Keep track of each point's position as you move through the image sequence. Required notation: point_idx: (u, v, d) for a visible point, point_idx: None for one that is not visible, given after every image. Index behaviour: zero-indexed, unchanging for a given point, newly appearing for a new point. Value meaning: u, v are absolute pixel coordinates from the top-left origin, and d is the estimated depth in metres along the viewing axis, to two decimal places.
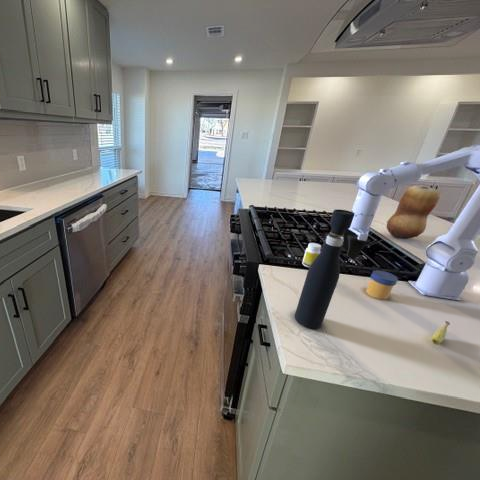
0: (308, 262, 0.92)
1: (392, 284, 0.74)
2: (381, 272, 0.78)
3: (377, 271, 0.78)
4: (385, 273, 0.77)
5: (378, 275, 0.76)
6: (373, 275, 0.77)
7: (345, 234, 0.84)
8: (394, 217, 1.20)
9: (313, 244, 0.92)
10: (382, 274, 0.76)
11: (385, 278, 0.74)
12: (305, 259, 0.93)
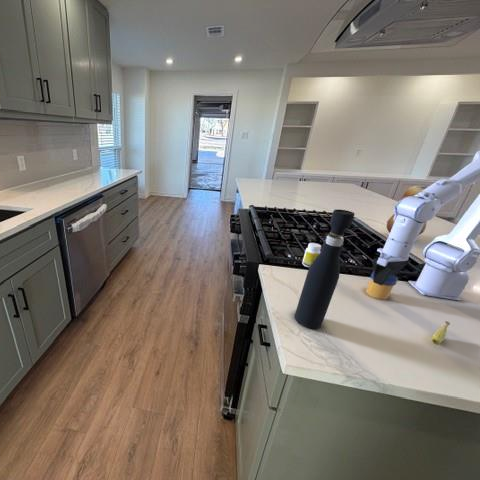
0: (308, 262, 0.92)
1: (392, 284, 0.74)
2: None
3: None
4: None
5: None
6: (373, 275, 0.77)
7: None
8: None
9: (313, 244, 0.92)
10: None
11: None
12: (305, 259, 0.93)
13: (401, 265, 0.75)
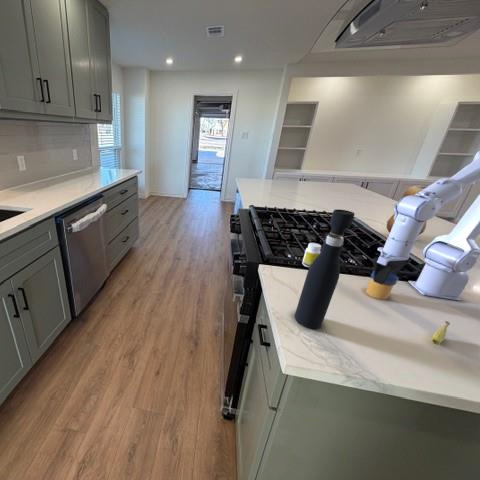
0: (308, 262, 0.92)
1: None
2: None
3: None
4: None
5: (393, 278, 0.74)
6: (393, 281, 0.73)
7: None
8: None
9: (313, 244, 0.92)
10: None
11: (394, 276, 0.75)
12: (305, 259, 0.93)
13: (401, 264, 0.74)
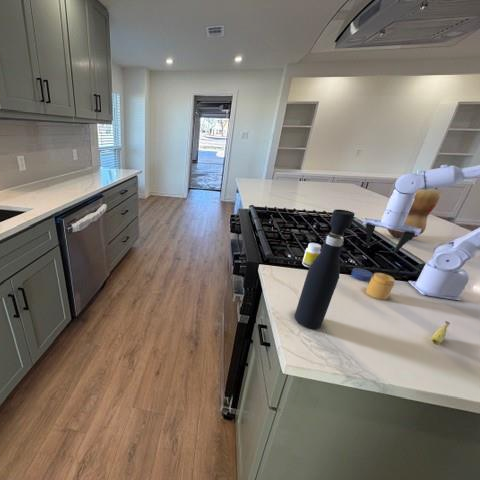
0: (308, 262, 0.92)
1: None
2: (368, 274, 0.86)
3: (371, 274, 0.86)
4: (365, 274, 0.86)
5: (364, 270, 0.89)
6: None
7: (372, 233, 0.87)
8: None
9: (313, 244, 0.92)
10: (365, 272, 0.88)
11: (358, 269, 0.90)
12: (305, 259, 0.93)
13: None
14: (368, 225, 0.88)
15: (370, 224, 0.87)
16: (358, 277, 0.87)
